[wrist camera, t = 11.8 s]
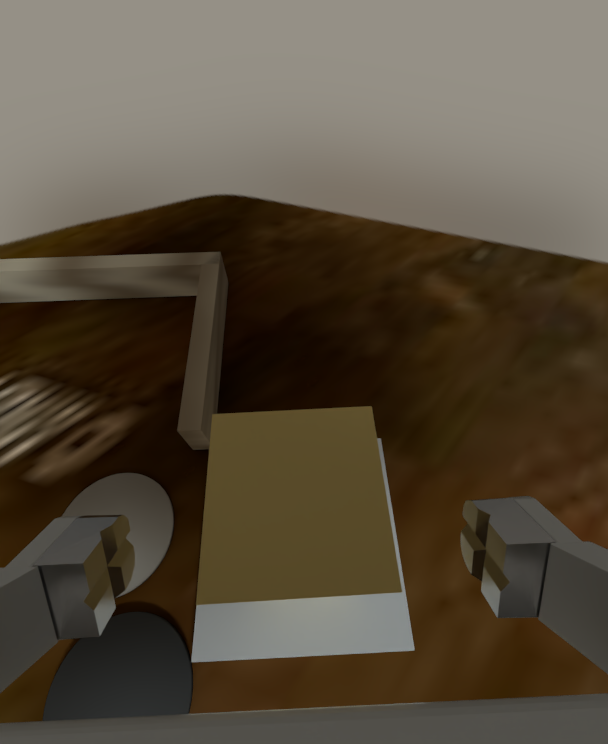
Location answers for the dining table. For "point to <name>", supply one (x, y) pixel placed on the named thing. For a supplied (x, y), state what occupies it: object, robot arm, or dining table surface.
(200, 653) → the pad
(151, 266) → the cubby
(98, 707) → the hole disc
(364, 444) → the ochre block
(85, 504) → the painted circle
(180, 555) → the dining table surface
